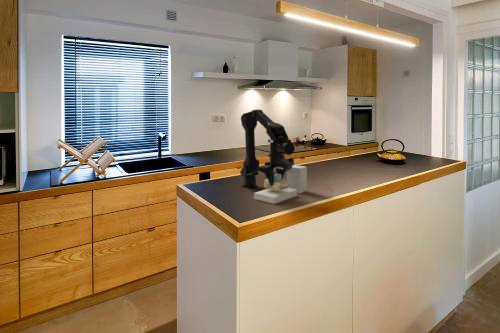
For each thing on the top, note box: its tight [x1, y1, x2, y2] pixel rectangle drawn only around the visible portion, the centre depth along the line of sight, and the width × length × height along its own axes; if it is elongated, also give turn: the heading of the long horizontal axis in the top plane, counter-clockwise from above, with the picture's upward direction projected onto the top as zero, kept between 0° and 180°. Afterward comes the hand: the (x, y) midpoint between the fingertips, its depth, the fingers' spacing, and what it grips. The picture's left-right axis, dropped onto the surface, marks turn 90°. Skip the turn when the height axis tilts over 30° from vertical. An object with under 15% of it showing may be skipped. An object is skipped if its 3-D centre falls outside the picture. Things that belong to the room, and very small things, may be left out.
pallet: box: [263, 178, 288, 191], centre depth 152 cm, size 10×6×4 cm, turn 47°
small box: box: [286, 164, 308, 194], centre depth 163 cm, size 8×6×13 cm
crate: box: [273, 172, 283, 182], centre depth 151 cm, size 4×4×3 cm
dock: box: [253, 188, 298, 205], centre depth 153 cm, size 12×18×3 cm
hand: (275, 184), depth 152 cm, fingers closed on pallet, 6 cm apart
